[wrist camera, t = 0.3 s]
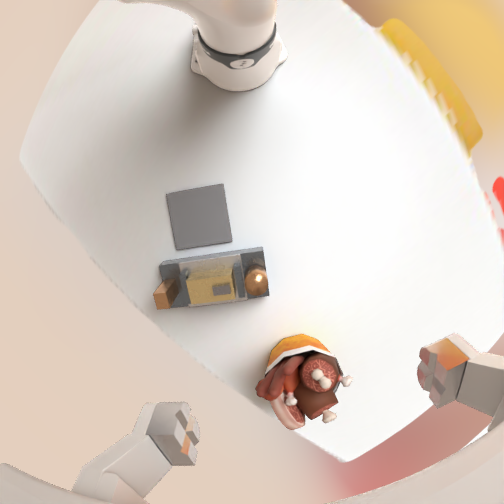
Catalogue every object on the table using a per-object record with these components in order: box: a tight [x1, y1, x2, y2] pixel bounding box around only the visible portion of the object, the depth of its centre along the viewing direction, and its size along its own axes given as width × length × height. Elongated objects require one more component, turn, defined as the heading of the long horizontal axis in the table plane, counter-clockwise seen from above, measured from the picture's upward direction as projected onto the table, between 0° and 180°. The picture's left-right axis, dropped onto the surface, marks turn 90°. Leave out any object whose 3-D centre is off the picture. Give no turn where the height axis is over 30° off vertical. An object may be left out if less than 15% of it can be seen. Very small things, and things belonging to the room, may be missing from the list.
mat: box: [166, 184, 232, 250], centre depth 53 cm, size 11×11×1 cm
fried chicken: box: [255, 334, 353, 430], centre depth 51 cm, size 20×16×20 cm
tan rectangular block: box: [186, 268, 236, 304], centre depth 50 cm, size 8×4×5 cm, turn 98°
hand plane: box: [153, 247, 269, 310], centre depth 51 cm, size 20×9×10 cm, turn 98°
